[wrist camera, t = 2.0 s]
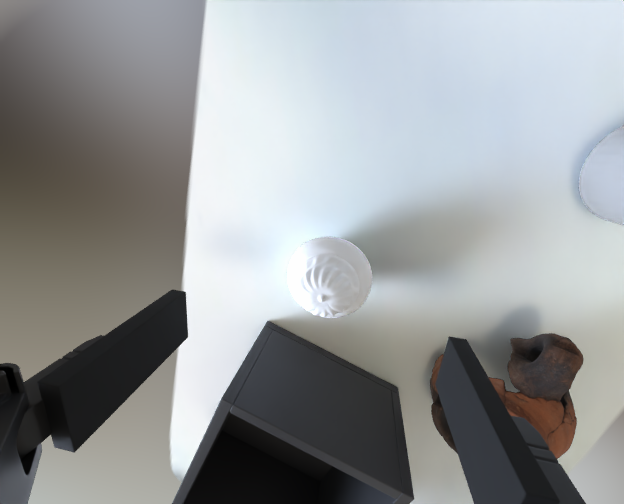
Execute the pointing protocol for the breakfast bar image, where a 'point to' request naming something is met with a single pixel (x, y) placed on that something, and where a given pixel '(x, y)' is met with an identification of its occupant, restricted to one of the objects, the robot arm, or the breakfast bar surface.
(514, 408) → the broken terracotta ring
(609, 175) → the beverage can
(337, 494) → the open cubby box
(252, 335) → the breakfast bar surface
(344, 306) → the muffin
